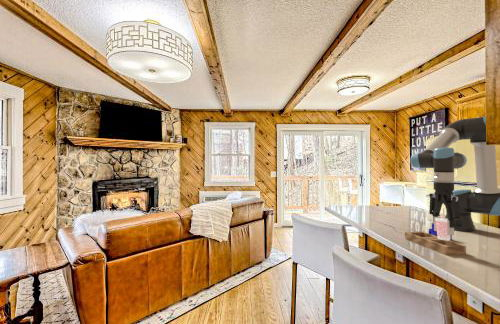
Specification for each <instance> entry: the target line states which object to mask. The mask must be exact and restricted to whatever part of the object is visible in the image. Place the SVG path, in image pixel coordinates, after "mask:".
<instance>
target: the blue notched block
mask: <svg viewBox="0 0 500 324" xmlns="http://www.w3.org/2000/svg"><path fill="white" fill-rule="evenodd" d="M428 233H429V234H432V235H435V236H437V231H434V222H433V223H432V222H431V228H428ZM452 236H453V235H451V236H450V241H453V239H452V238H453V237H452Z"/></svg>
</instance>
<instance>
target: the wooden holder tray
mask: <svg viewBox="0 0 500 324" xmlns="http://www.w3.org/2000/svg"><path fill="white" fill-rule="evenodd" d="M404 239H405V240H406V241H409V242H412V243H414V244H417V245H419V246H422V247H425V248H427V249H429V250H432V251H434V252H437V253H440V254H442V255H444V256H449V255H450V256H452V255H466V254H467V245H465V244H462V243H459V242H456V241H453V240H449V241H446V240H440V239H438V237H437V236H435V235H432V234H429V232H426V231H405V232H404Z"/></svg>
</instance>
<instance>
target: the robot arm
mask: <svg viewBox="0 0 500 324" xmlns="http://www.w3.org/2000/svg"><path fill="white" fill-rule="evenodd" d="M461 140H462V141H463V140H469V142H470V144H472V145H473V147H474V148H473V149H474V151H473V152H474V163H475V177H476V179H475V180H476V188H475V189H474V190H473V192H472V190H471V189H455V169H456V170H457V169H460V168H463V167H464V166H466V165H467V162H468V160H467V157H466V155H464V154H463V153H460V152H455V150H454V148H453V147H450V146H451V145H452V144H455V143H457V142H458V141H461ZM496 155H497V154H496V144H495V145H486V116H479V117H471V118H462V119H459V120H456V121H453V122H451V123H449V124H448V125H446V126H445V127H444V128H442V129H441V130H440V131H439V134H438V136H437V137H435V139H434V140H433V141H431V143H430V144H428V146H426V147H425V149H424V150H422V152H420V153H419V152H417V153H413V154H412V155H411V156H410V160H409V161H410V165H411V167H412V168H414V169H415V168H417V169H433V181H434V182H433V190H434V193H429V208H428V209H429V212H428V213H429V215H431V216H432V217H433V219H432V220H433V223H434V231H437V224H436V219H435V218H442V217H441V215H440V214H441V211H442V206H443V205H444V206H445V207H444V208H445V211H446V214H445V215H444V218H446V219H447V235H452V236H454V235H455V231H460V232H475V231H476V225H475V224H474V221H473V218H472V213H475V214H481V215H490V216H500V188H499V187H498V186H499V185H498V170H497V167H498V166H497V156H496Z"/></svg>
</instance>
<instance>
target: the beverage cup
mask: <svg viewBox="0 0 500 324" xmlns="http://www.w3.org/2000/svg"><path fill="white" fill-rule="evenodd" d="M435 219H436V224H437V237H438V239H440V240H446V241H449V240H450V236H451V235H447V219H446V218H445V207H443V208H442V217H441V218H435ZM450 241H451V240H450Z"/></svg>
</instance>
